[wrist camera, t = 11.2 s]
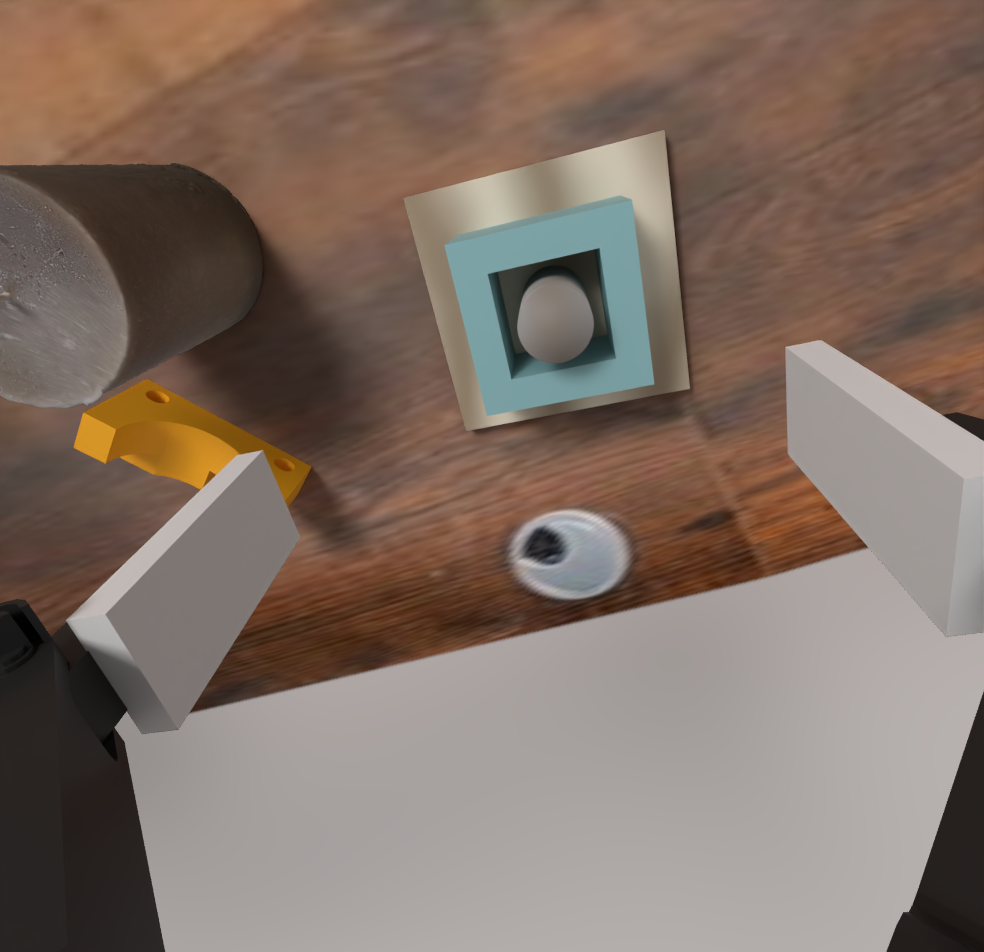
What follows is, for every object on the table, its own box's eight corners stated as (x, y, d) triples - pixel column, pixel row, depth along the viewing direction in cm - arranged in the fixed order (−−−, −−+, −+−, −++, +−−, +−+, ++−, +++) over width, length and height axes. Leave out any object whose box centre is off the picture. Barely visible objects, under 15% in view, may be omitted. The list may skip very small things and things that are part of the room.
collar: (493, 386, 38) (486, 416, 34) (457, 235, 34) (444, 245, 30) (641, 357, 37) (654, 384, 32) (620, 195, 33) (632, 199, 28)
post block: (468, 425, 40) (451, 480, 33) (406, 197, 35) (370, 205, 27) (686, 383, 38) (718, 433, 31) (661, 130, 32) (693, 120, 25)
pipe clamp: (131, 429, 43) (67, 470, 37) (148, 378, 41) (83, 412, 35) (289, 510, 45) (251, 561, 39) (312, 465, 43) (276, 511, 37)
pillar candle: (181, 125, 34) (-57, 98, 20) (299, 279, 37) (160, 342, 24) (72, 230, 37) (-198, 267, 23) (190, 364, 40) (12, 463, 27)
